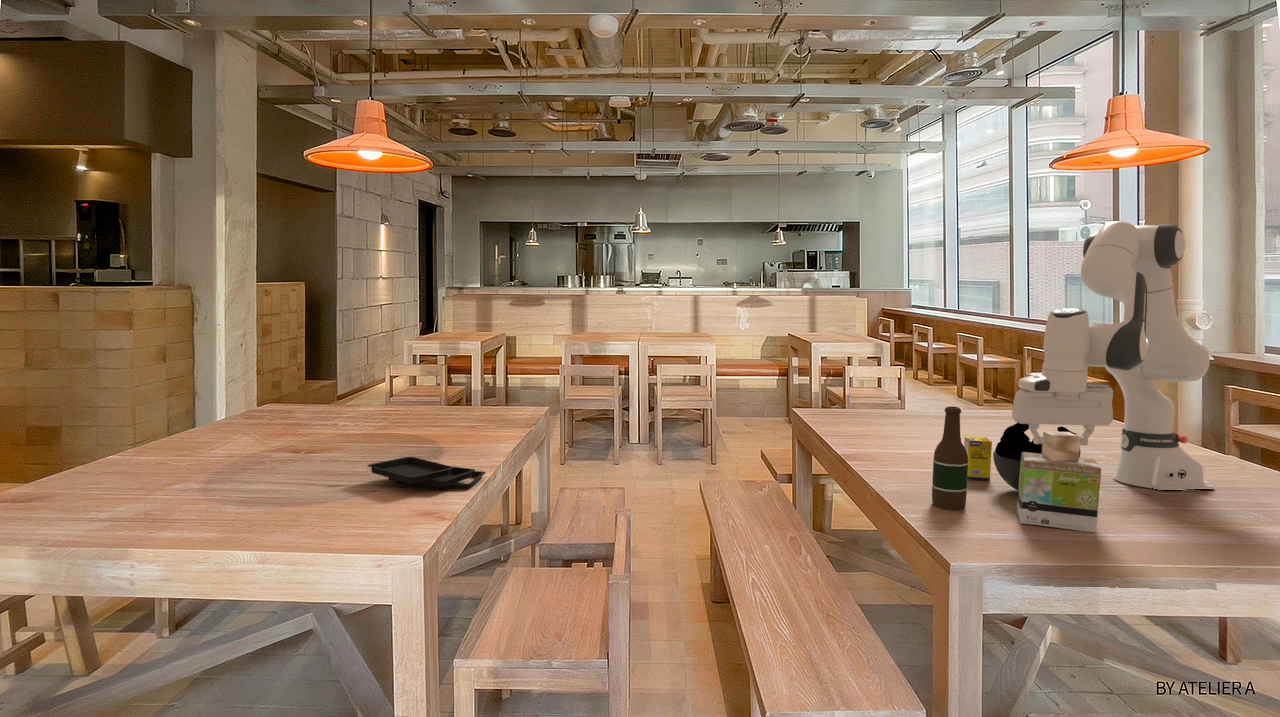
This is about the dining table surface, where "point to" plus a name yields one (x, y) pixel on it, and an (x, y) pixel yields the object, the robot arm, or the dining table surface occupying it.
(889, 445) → the dining table surface
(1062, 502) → the tea box
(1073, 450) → the oak block
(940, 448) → the beer bottle
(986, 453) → the supplement box
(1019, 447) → the coal bowl
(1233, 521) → the dining table surface
